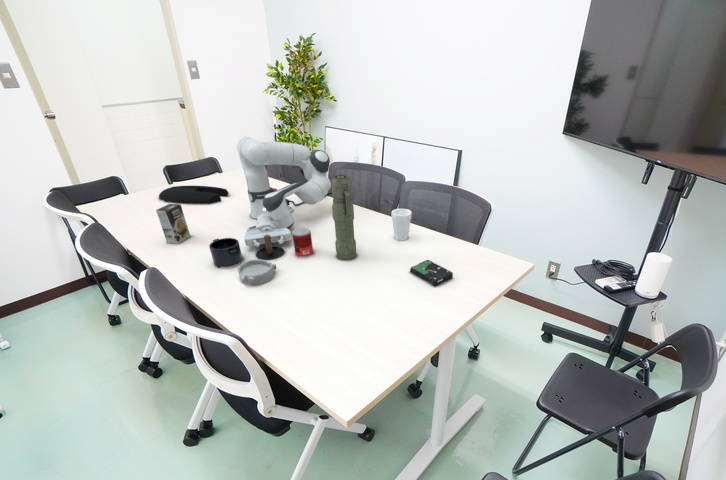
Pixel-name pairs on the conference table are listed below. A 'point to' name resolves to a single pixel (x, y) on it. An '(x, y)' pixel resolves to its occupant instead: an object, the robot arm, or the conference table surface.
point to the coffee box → (173, 223)
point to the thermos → (343, 218)
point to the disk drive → (431, 272)
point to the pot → (225, 252)
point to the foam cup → (401, 223)
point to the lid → (269, 250)
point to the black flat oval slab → (193, 194)
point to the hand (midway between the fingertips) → (269, 244)
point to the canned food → (302, 242)
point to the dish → (256, 271)
